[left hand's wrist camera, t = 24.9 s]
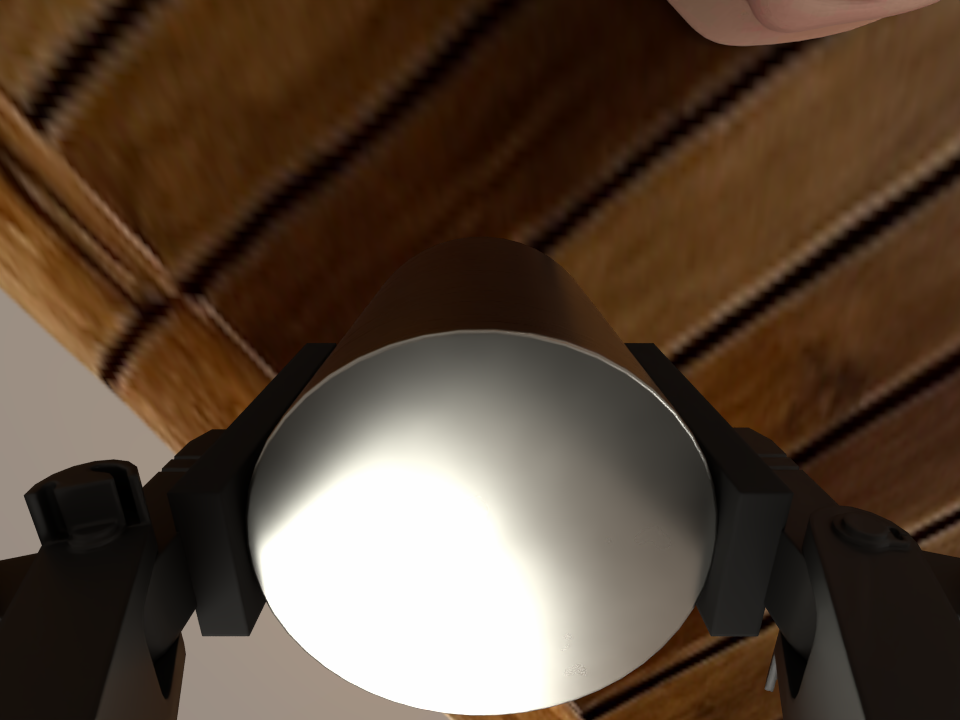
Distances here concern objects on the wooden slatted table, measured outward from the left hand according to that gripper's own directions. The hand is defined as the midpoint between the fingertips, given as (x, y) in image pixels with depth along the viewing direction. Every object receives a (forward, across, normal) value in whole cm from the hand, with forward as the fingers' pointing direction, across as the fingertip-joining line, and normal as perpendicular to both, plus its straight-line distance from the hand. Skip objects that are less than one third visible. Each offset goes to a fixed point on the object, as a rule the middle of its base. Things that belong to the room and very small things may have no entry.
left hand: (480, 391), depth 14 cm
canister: (+3, 0, 0) cm, 3 cm away
